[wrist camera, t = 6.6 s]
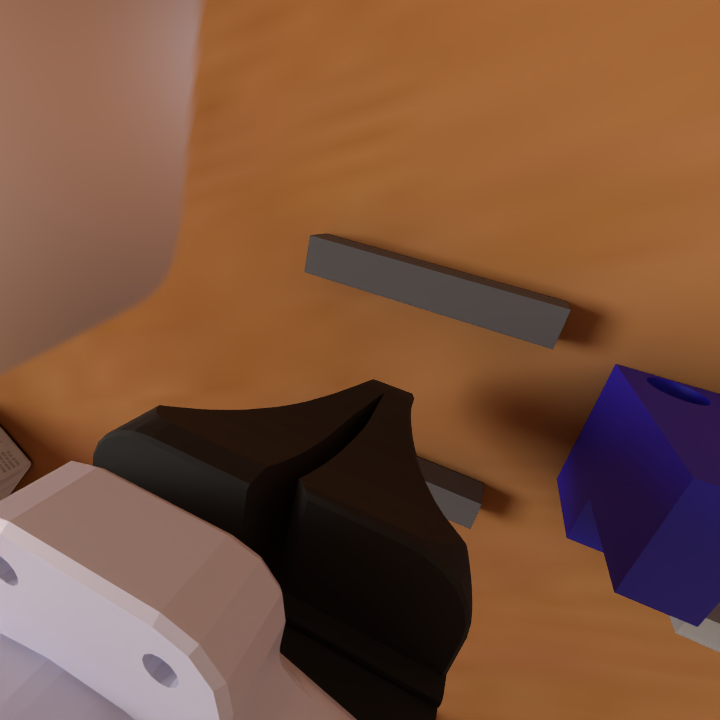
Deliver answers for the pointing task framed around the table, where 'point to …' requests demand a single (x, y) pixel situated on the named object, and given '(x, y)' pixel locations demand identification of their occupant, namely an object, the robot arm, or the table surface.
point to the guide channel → (449, 298)
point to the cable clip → (650, 491)
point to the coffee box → (10, 465)
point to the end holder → (701, 629)
